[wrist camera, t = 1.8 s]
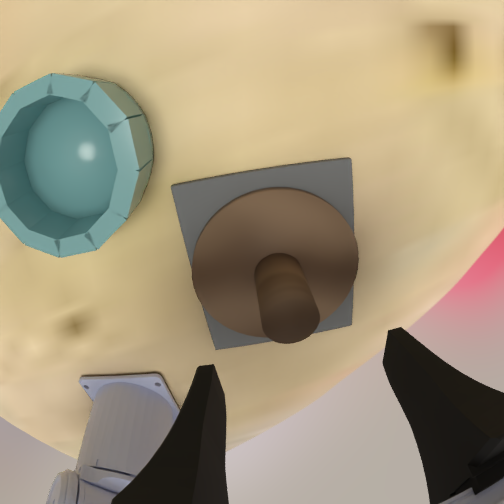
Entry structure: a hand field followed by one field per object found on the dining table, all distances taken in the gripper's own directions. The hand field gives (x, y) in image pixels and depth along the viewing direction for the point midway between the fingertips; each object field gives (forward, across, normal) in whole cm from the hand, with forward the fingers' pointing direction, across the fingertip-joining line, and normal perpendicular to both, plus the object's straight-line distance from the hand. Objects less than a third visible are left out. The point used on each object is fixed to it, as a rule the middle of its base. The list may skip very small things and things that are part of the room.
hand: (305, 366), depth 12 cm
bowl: (+8, +10, -9) cm, 16 cm away
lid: (+8, 0, 0) cm, 8 cm away
